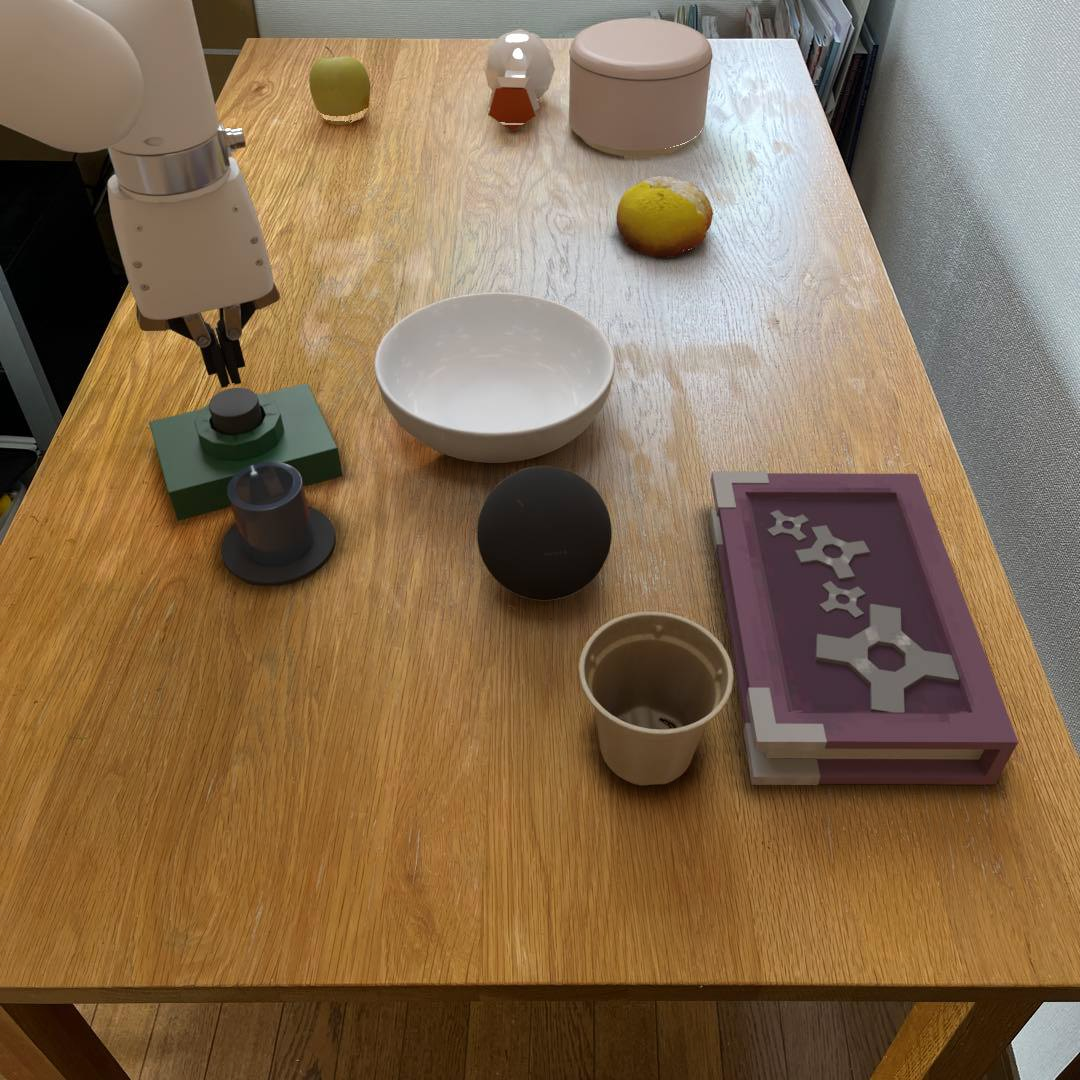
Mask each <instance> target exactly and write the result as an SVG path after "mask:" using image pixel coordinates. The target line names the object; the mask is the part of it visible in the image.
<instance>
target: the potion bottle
mask: <svg viewBox="0 0 1080 1080" xmlns="http://www.w3.org/2000/svg"><path fill="white" fill-rule="evenodd" d="M553 59H554V58H553V56H552V51H551V50H550V48H549V47H548V45H546V43H545V42H544V41H543V39H542V38H541V37H540V36H539V35H538V34H536V33H533V32H530V31H528V30H524V29H521V28H518V29H515V30H511V31H509V32H506V33H503V34H501V35H500V36H499V37H498V38H497V39H496V40H495V41H494V42H493V43H492V44H491V45H490V46H489V47H488V51H487V55H486V58H485V62H484V66H483V70H484V74H485V78H486V83H487V86H488V87H489V89H490V90H491V95H490V97H489V101H488V105H487V107H488V108H489V110H488V117H491V118H492V119H493V120H494V121H496V122H497V123H499V122H505V123H525V124H527V123H528V122H530V121H531V120H533V119H534V118H536V117H537V115H536V112H537V111H538V110H539V109H541V105H540V103H539V100H540V99H541V98H542V97H543V96H544V95H545V94H546V92H548V91H549V89H550V85H551V83H552V80H553V76H554V75H555V70H556V68H555V63H554V60H553ZM540 97H541V98H540ZM539 98H540V99H539ZM537 99H539V100H537ZM503 126H504V127H505V128H506V129H507V130H510V131H511V132H514V131H516V130H518V129H519V128H520V127H522V126H523V125H503Z"/></svg>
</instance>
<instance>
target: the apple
mask: <svg viewBox="0 0 1080 1080" xmlns="http://www.w3.org/2000/svg"><path fill="white" fill-rule="evenodd" d="M324 47H325V49H327V50H328V51H329V53H330V54H331V55H332V56H322V57H320V58H318V59H317V60H316V61H314V63H313V64H312V66H311V69H310V72H309V78H308V82H309V84H308V85H309V91H310V94H311V95H310V96H311V98H312V101H313V104H314V106H315V108H316V110H317V112H318V111H319V112H320V113H322V114H324V115H329V116H336V117H337V116H348V115H351V114H355V113H358V112H360V111H363V110H364V109H366V108H368V109H369V107H370V99H371V80H370V76H369V73H368V71H367V69H366V67H365V66H364V64H363V63H362V62H361V61H360V60H359V59H357V58H355V57H352V56H347V55H346V56H345V55H344V56H336V57H335V56H334V53H333V52H332V51H331V49H330V48H329V47H328V46H327V45H325V46H324ZM368 106H369V107H368ZM319 112H318V113H319ZM322 119H323V120H324V121H325V122H327V123H329V124H330V125H332V126H333V125H335V126H346V125H350V124H351V123H350V122H351V121H352V120H350V122H349V121H346V122H345V121H331V120H326V119H324V118H322ZM349 123H350V124H349Z"/></svg>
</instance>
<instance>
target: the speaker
mask: <svg viewBox="0 0 1080 1080" xmlns="http://www.w3.org/2000/svg"><path fill="white" fill-rule="evenodd" d="M611 521H612V520H611V515H610V513H609V510H608V508H607V505H606V503H605V501H604V499H603V498H602V496H601V495H600V493H599V491H598V490H597V489H596V488H595V487H594V486H593V485H592V484H591V482H589V481H588V480H587V479H585V478H584V477H582V476H581V475H579V474H578V473H576V472H574V471H572V470H568V469H566V468H563V467H558V466H553V465H536V466H529V467H526V468H523V469H519V470H517V471H515V472H513V473H511V474H510V475H508V476H507V477H505V478H503V479H501V481H500V482H498V484H496V485H495V487H494V488H493V489H492V490H491V491H490V492H489V494H488V495H487V497H486V498H485V501H484V502H483V504H482V506H481V509H480V512H479V515H478V519H477V525H476V526H477V528H476V541H477V547H478V551H479V555H480V558H481V559H482V562H483V564H484V566H485V568H486V569H487V571H488V572H489V574H490V575H491V576H492V578H493V579H494V580H495V581H496V582H497V583H498V584H500V585H501V586H502V587H503V588H504V589H506V590H507V591H509V592H511V593H512V594H514V595H517V596H519V597H521V598H524V599H529V600H533V601H542V602H543V601H544V602H545V601H555V600H560V599H565V598H568V597H570V596H572V595H575V594H576V593H578V592H580V591H581V590H583V589H585V587H587V586H588V585H589V584H590V583H591V582H593V581H594V580H595V578H596V577H597V576H598V575H599V574H600V572H601V570H602V569H603V568H604V565H605V564H606V561H607V559H608V556H609V554H610V549H611V545H612V535H613V534H612V533H613V530H612V522H611Z"/></svg>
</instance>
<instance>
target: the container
mask: <svg viewBox="0 0 1080 1080" xmlns="http://www.w3.org/2000/svg"><path fill="white" fill-rule="evenodd" d="M568 53H569V84H568V85H569V87H568V88H569V91H568V95H569V97H568V124H569V127H570V128H571V130H572V131H573V132H574V133H575V135H577V136H579V137H580V138H581V140H583V142H584V143H585V144H587V146H589V147H592V148H593V149H594V150H597V151H600V152H603V153H606V154H610V155H613V156H619V157H629V158H630V157H631V158H649V157H657V156H663V155H667V154H671V153H674V152H676V151H679V150H680V149H683V148H684V147H686V146H687V145H689V143H690V141H689V140H691V139H693V138H694V137H695V136H697V135H698V134H699V133H700V131H701V130H702V128H703V127H704V128H705V123H706V114H707V104H708V96H709V87H710V77H711V68H712V60H713V49H712V46H711V43H710V41H709V40H708V39H707V37H706V36H705V35H704V34H702V33H701V32H700V31H698V30H696V29H694V28H693V27H691V26H687V25H685V24H682V23H679V22H676V21H670V20H666V19H665V20H664V19H658V18H646V17H644V18H643V17H640V18H639V17H632V18H630V17H629V18H617V19H612V20H607V21H602V22H599V23H596V24H593V25H591V26H588V27H586V28H584V29H583V30H581V31H580V32H578V34H576V35H575V37H574V38H573V40H572V42H571V43H570V48H569V51H568ZM704 128H703V129H704ZM700 134H701V133H700ZM700 134H699V135H700ZM699 135H698V136H699ZM698 136H697V137H698ZM694 139H695V138H694ZM694 139H693V140H694ZM687 141H689V142H687ZM691 141H692V140H691ZM685 142H687V143H685ZM682 143H685V144H682ZM680 144H682V145H680ZM676 145H679V146H676ZM673 146H675V147H673ZM670 147H671V148H670ZM665 148H666V149H665Z"/></svg>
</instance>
